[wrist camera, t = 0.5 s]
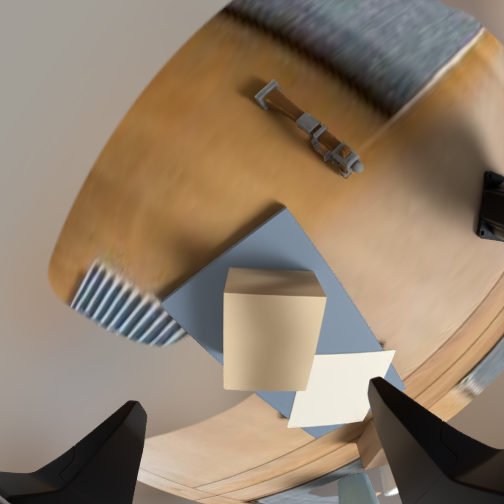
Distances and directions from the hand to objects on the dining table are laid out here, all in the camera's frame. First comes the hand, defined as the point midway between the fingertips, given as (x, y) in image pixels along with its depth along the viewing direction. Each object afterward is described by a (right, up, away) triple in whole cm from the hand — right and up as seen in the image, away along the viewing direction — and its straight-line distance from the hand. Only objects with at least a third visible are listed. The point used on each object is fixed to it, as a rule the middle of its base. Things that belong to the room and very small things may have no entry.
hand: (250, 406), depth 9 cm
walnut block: (+17, -18, +19) cm, 31 cm away
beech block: (+1, +1, +12) cm, 12 cm away
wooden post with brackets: (+4, +14, +9) cm, 17 cm away
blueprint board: (+5, -4, +14) cm, 15 cm away
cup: (+18, -35, +25) cm, 47 cm away
